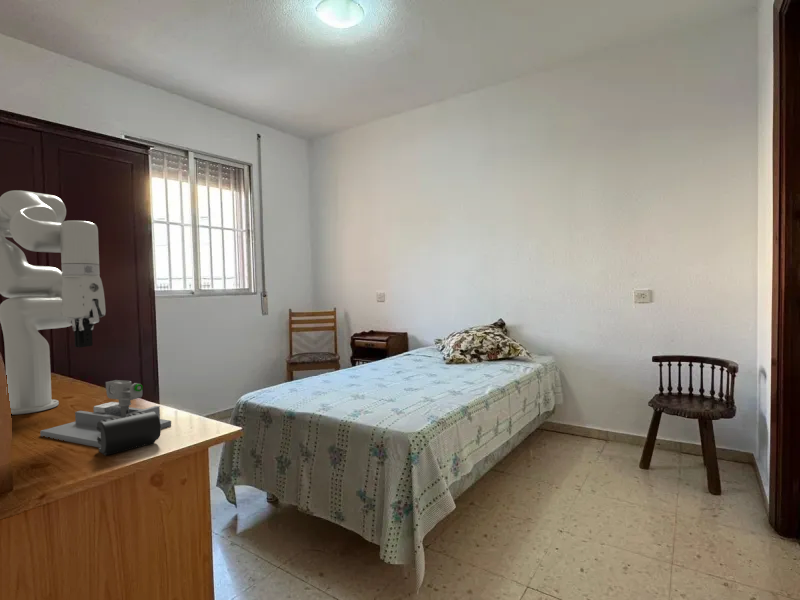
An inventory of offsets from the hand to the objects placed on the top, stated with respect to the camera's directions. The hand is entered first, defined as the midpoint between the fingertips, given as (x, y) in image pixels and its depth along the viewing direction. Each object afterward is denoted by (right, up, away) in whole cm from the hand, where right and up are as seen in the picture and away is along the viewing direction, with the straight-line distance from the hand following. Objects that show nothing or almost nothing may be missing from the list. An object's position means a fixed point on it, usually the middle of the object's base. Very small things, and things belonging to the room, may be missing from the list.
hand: (83, 346), depth 108 cm
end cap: (+22, -20, -18) cm, 34 cm away
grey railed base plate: (+10, -19, -6) cm, 22 cm away
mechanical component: (+13, -18, -5) cm, 23 cm away
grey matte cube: (+8, -18, -3) cm, 20 cm away
